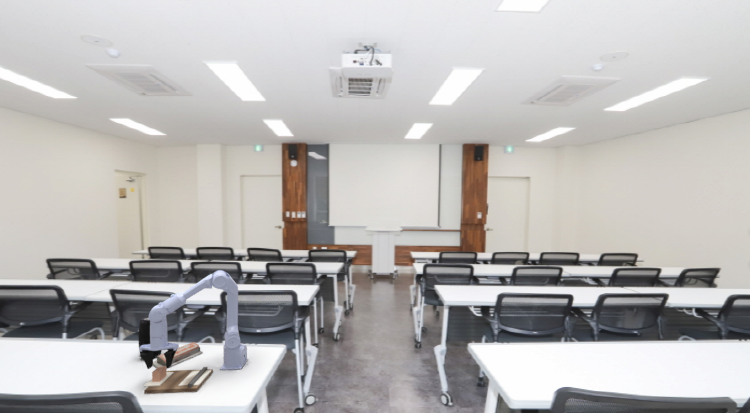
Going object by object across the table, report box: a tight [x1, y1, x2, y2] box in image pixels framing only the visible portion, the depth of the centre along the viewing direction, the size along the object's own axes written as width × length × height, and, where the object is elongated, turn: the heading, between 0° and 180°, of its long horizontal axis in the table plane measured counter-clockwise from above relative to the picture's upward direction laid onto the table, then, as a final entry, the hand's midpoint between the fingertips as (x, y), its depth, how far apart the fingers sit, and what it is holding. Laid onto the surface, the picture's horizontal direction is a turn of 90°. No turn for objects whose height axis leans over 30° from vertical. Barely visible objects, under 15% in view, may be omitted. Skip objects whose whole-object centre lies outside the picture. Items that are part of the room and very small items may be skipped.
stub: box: [143, 366, 174, 388], centre depth 120 cm, size 6×9×4 cm, turn 3°
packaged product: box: [152, 341, 203, 370], centre depth 139 cm, size 18×5×10 cm
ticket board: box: [143, 366, 214, 395], centre depth 121 cm, size 20×13×3 cm, turn 93°
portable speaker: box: [137, 314, 162, 360], centre depth 141 cm, size 9×9×20 cm
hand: (159, 367), depth 120 cm, fingers open, 7 cm apart
